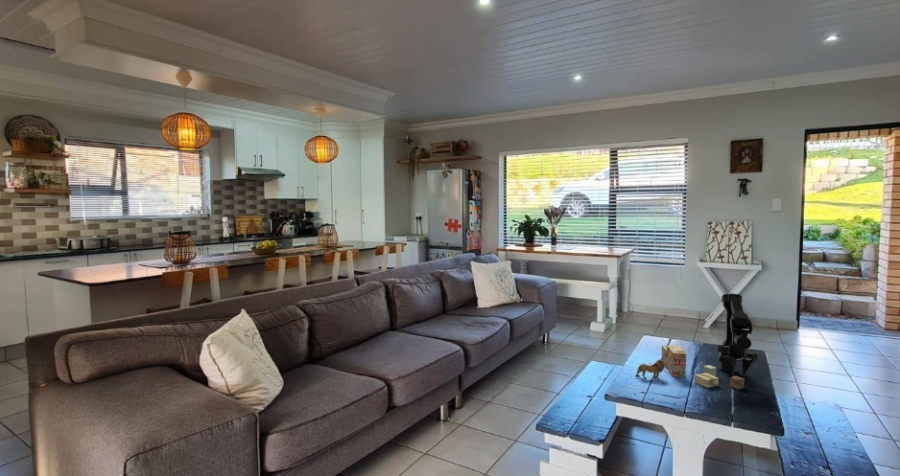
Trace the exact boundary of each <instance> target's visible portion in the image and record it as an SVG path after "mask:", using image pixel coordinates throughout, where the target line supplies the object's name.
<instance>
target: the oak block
mask: <svg viewBox="0 0 900 476" xmlns="http://www.w3.org/2000/svg"><path fill="white" fill-rule="evenodd" d="M719 380H720V379H719V377H717V376H713V375H710V374H708V373H703V372H701V373H695V374H694V383H695V384H698V385H699V386H702V387H705V388H708V389H709V388H713V387H718V386H719Z"/></svg>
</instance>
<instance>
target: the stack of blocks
mask: <svg viewBox="0 0 900 476" xmlns="http://www.w3.org/2000/svg"><path fill="white" fill-rule="evenodd" d="M661 360H663V361H664V363H665V367H664V368H665V369H666V370H667V371H668V373H669V374H670V375H671V377H677V378H686V369H687V368H686V367H687V353H686V352H685V350H684V349H683V348H682V347H681V346H680V345H671V344H667V345H661Z"/></svg>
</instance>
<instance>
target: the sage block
mask: <svg viewBox="0 0 900 476" xmlns="http://www.w3.org/2000/svg"><path fill="white" fill-rule="evenodd" d="M702 367H703V368H702V373H708V374H710V375H713V376H715V377H717V367H716V366H713V365H711V364H708V365H703V366H702Z"/></svg>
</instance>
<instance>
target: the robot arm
mask: <svg viewBox="0 0 900 476" xmlns="http://www.w3.org/2000/svg"><path fill="white" fill-rule="evenodd" d="M720 300H721V303H722V307H724V308H723V309H724V310H725V339H724V340H723V342H722V343H721V344H720V345H717V352H718V361H719V362H721V367H718V370H720V371H723V372H725V373H727V374H728V377H733V376H734V373H738V372H739V370H738V369H736V368H737V362H740V361H741V366H742V367H741V368H742V370H741V372H742V374H743V375H747V373H748V371H749V370H750V368H751V367H752V366H753V364H754V363H755V362H756V361H758V355H757V353H755V352H751V351H748V349H750V348H751V347H752V341H751V339H750V338H749V337H748V335H752V332H753V331H754V330H753V324H752V321H751V319H750V318H749V315H748V314H747V313H745V312H744V308H743V295H741V294H739V293H733V292H732V293H731V292H730V293H724V294H722V295H721V299H720Z"/></svg>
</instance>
